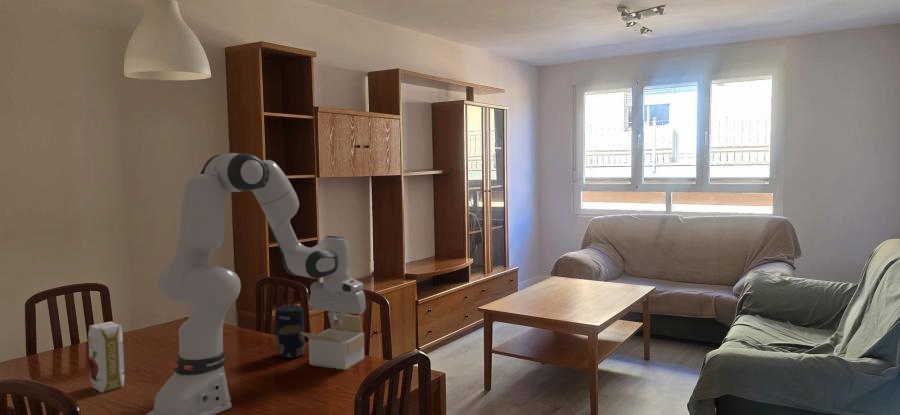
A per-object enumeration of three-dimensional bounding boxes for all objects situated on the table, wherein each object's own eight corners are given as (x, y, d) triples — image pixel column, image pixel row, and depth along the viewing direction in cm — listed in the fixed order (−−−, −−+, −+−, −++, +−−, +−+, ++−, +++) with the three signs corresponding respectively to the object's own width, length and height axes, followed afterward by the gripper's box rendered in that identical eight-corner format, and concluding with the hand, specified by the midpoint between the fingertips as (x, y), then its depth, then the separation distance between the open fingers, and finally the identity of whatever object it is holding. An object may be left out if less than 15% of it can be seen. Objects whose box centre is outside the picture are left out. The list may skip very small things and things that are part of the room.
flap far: (359, 316, 196) (359, 316, 196) (327, 313, 201) (328, 312, 201) (362, 331, 198) (362, 331, 199) (331, 328, 203) (331, 327, 203)
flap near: (300, 332, 186) (300, 333, 186) (333, 336, 182) (333, 337, 182) (310, 337, 191) (310, 338, 191) (342, 341, 187) (342, 342, 187)
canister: (308, 351, 207) (307, 301, 205) (299, 360, 197) (297, 308, 196) (282, 350, 208) (281, 301, 206) (271, 359, 198) (270, 307, 197)
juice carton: (115, 380, 179) (112, 320, 178) (127, 386, 174) (124, 324, 173) (88, 387, 174) (85, 325, 172) (99, 394, 168) (96, 330, 167)
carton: (346, 370, 187) (346, 343, 187) (308, 364, 193) (307, 338, 192) (365, 358, 198) (365, 332, 198) (328, 353, 204) (327, 328, 203)
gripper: (305, 283, 195) (306, 323, 196) (358, 287, 187) (358, 329, 188) (315, 279, 201) (316, 319, 202) (367, 283, 193) (368, 324, 194)
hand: (337, 324), depth 195 cm, fingers closed
